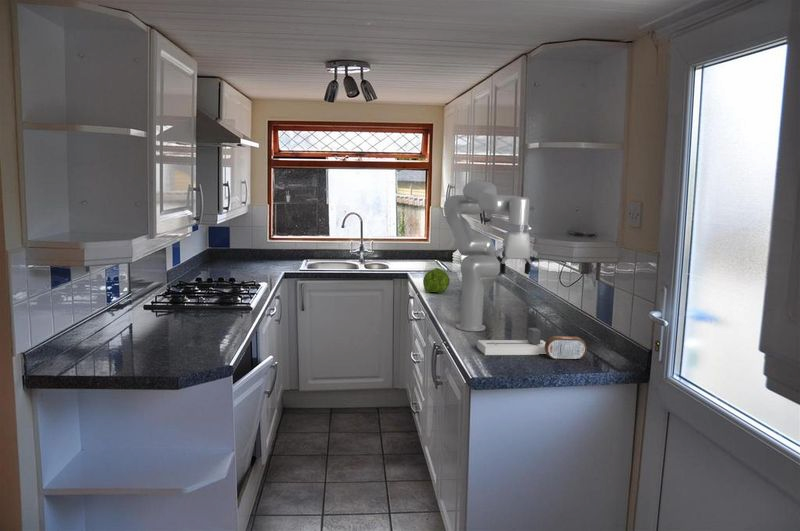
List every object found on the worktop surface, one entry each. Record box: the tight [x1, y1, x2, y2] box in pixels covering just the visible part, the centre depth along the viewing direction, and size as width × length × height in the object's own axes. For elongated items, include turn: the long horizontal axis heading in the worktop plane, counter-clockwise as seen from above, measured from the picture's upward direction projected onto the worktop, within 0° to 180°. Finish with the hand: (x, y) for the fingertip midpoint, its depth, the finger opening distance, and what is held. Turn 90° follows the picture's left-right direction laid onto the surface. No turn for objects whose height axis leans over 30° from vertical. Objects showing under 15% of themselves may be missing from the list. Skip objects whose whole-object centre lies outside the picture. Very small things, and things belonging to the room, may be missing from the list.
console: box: [476, 339, 547, 356], centre depth 244 cm, size 10×26×3 cm, turn 100°
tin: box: [545, 335, 588, 360], centre depth 236 cm, size 15×3×8 cm, turn 92°
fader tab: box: [527, 327, 542, 344], centre depth 245 cm, size 5×3×5 cm, turn 10°
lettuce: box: [422, 267, 451, 293], centre depth 371 cm, size 14×24×15 cm
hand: (514, 273), depth 250 cm, fingers open, 9 cm apart
